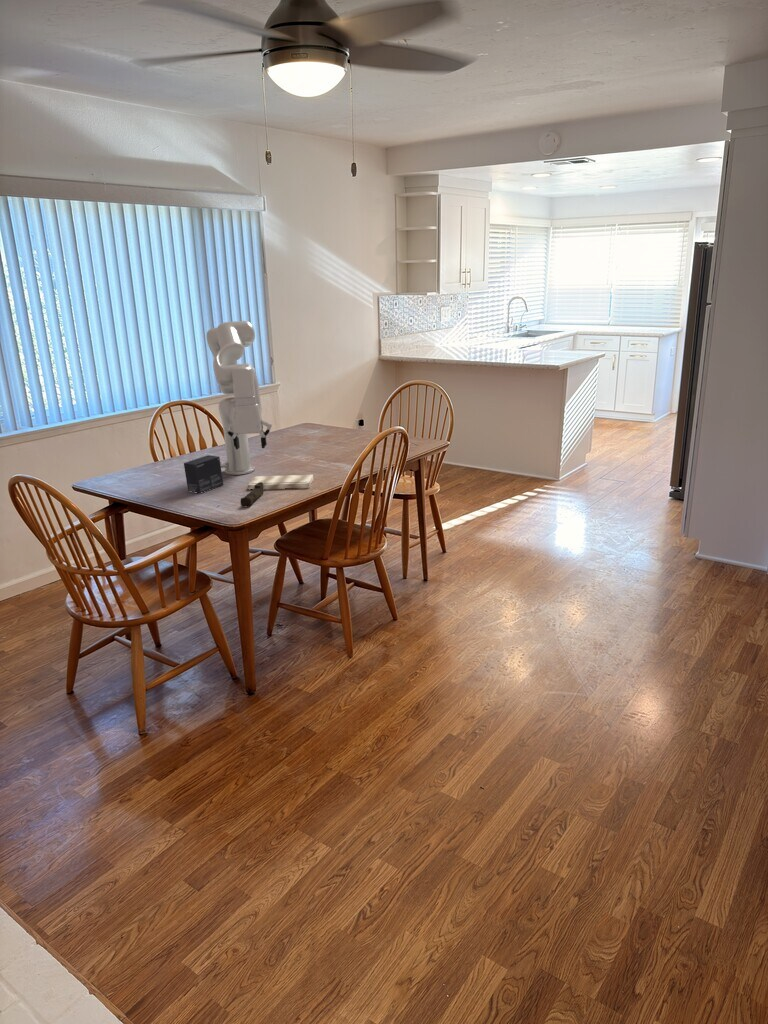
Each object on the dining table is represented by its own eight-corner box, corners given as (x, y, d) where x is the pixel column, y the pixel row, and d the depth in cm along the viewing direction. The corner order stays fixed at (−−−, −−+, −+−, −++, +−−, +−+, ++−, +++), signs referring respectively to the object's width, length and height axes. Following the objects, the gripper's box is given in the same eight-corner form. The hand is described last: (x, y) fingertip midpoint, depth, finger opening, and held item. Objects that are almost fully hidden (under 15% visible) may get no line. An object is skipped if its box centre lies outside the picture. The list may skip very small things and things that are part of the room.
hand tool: (251, 508, 255) (249, 496, 254) (240, 507, 256) (239, 495, 255) (270, 492, 273) (269, 481, 271) (260, 492, 274) (259, 480, 272)
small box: (212, 483, 288) (208, 454, 284) (224, 485, 284) (220, 456, 280) (187, 492, 278) (183, 462, 274) (199, 494, 274) (195, 464, 270)
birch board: (248, 489, 276) (247, 484, 275) (254, 481, 288) (254, 476, 287) (309, 488, 275) (308, 482, 274) (313, 479, 286) (313, 474, 286)
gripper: (219, 404, 251) (224, 451, 256) (267, 402, 250) (271, 449, 255) (224, 400, 258) (230, 446, 263) (271, 398, 257) (276, 445, 262)
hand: (250, 448), depth 259 cm, fingers open, 9 cm apart
